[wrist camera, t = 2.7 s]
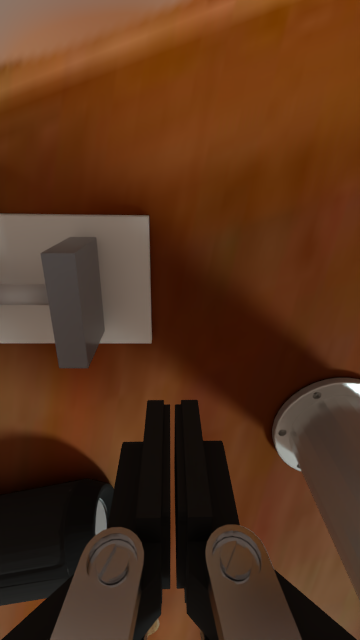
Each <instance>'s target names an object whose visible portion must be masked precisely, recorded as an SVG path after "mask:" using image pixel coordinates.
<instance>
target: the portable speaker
mask: <svg viewBox="0 0 360 640" xmlns="http://www.w3.org/2000/svg"><path fill="white" fill-rule="evenodd" d="M113 493H114V488H113V487H112V486H111V485H110V484H108V483H104V482H100V481H95V480H91V479H82V480H79V481H74V482H68V483H63V484H58V485H52V486H47V487H42V488H36V489H31V490H26V491H20V492H15V493H10V494H5V495H0V606H1V605H7V604H13V603H20V602H26V601H32V600H38V599H44V598H48V597H49V596H50V595H51V594H52V593H53V592H54V591H56V590H57V589H58V588H59V587H60V586H61V585H62V584H63V583H64V582H65V581H67V580H68V579H69V578H70V577H71V576H72V575H73V574H74V573H75V571H76V568H77V566H78V563H79V560H80V557H81V555H82V553H83V551H84V549H85V547H86V545H87V544H88V543H89V541H90V540H91V539H92V538H93V537H94V536H95V535H97V534H98V533H100V532H101V531H103V530H106V529H107V527H108V521H109V516H110V510H111V504H112V499H113Z"/></svg>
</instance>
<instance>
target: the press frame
mask: <svg viewBox="0 0 360 640" xmlns="http://www.w3.org/2000/svg"><path fill="white" fill-rule="evenodd" d="M69 237H96V239H97V250H98V261H99V272H100V283H101V294H102V305H103V316H104V327H105V332H104V334H103V336H102V338H101V341H100V343H152V312H151V270H150V229H149V215H76V214H0V284H45V278H44V272H43V266H42V260H41V254H40V253H42V252H43V251H45V250H47V249H49V248H51V247H53V246H54V245H56V244H58V243H60V242H62V241H63V240H65V239H67V238H69ZM0 343H55V339H54V333H53V327H52V321H51V315H50V309H49V305H0Z"/></svg>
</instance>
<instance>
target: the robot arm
mask: <svg viewBox="0 0 360 640" xmlns="http://www.w3.org/2000/svg"><path fill="white" fill-rule="evenodd" d="M272 438H273V442H274V445H275V448H276V450H277V452H278V455H279V456H280V457H281V458H282V460H283V461H284V462H285V463H287V464H288V465H289V466H290V467H292V468H294V469H296V470H298V471H302V473H303V476H304V478H305V480H306V482H307V485H308V487H309V489H310V491H311V493H312V496H313V498H314V500H315V502H316V505H317V507H318V509H319V511H320V514H321V516H322V518H323V520H324V522H325V525H326V527H327V529H328V531H329V534H330V536H331V538H332V540H333V543H334V545H335V547H336V549H337V551H338V554H339V556H340V558H341V560H342V563H343V565H344V567H345V569H346V571H347V574H348V576H349V578H350V580H351V583H352V585H353V587H354V589H355V592H356V594H357V596H358V598H359V600H360V379H354V378H332V379H326V380H322V381H319V382H316V383H313V384H311V385H309V386H307V387H305V388H303V389H301V390H300V391H298V392H297V393H295V394H294V395H292V396H291V397H290V398H289V399H288V400H287V401H286V402H285V403H284V404H283V406H282V407H281V409H280V410H279V411H278V413H277V415H276V417H275V419H274V423H273V427H272ZM175 524H176V578H177V589H180V588H184V590H185V603H186V604H187V614H188V615H189V617H190V618H191V619H192V620H193V621H194V622H195V624H196V625H197V626H198V627H199V628H200V635H201V640H356V639H355V638H354V637H353V636H352V635H351V634H349V633H348V632H347V631H346V630H345V629H344V628H342V627H341V626H340V625H339V624H338V623H337V622H335V621H334V620H333V619H332V618H331V617H330V616H328V615H327V614H326V613H325V612H324V611H322V610H321V609H320V608H319V607H318V606H317V605H315V604H314V603H313V602H312V601H311V600H310V599H308V598H307V597H306V596H305V595H304V594H303V593H301V592H300V591H299V590H298V589H297V588H296V587H294V586H293V585H292V584H291V583H290V582H289V581H287V580H286V579H285V578H284V577H283V576H281V575H280V574H279V573H278V572H277V571H276V570H274V568H273V566H272V563H271V561H270V558H269V556H268V553H267V551H266V549H265V547H264V545H263V543H262V542H261V540H260V539H259V538H258V537H257V536H256V535H255V534H254V533H253V532H252V531H250V530H249V529H247V528H245V527H242V526H240V524H239V519H238V515H237V510H236V505H235V500H234V495H233V490H232V485H231V480H230V475H229V470H228V465H227V461H226V456H225V451H224V446H223V443H222V441H203V438H202V430H201V423H200V415H199V407H198V401H197V400H181V405H175ZM162 589H170V405H164V400H148V401H147V410H146V421H145V431H144V441H143V442H123V444H122V448H121V454H120V459H119V465H118V470H117V476H116V482H115V487H114V493H113V499H112V504H111V510H110V516H109V521H108V527H107V529H106V530H103V531H101V532H100V533H98V534H97V535H95V536H94V537H93V538H92V539H91V540H90V541H89V543H88V544H87V545H86V547H85V549H84V551H83V553H82V555H81V557H80V560H79V563H78V566H77V568H76V571H75V573H74V574H73V575H72V576H71V577H70V578H69V579H68V580H67V581H65V582H64V583H63V584H62V585H61V586H60V587H59V588H58V589H57V590H56V591H54V592H53V593H52V594H51V595H50V596H49V597H48V598H47V599H46V600H45V601H43V602H42V603H41V604H40V605H39V606H38V607H37V608H36V609H35V610H34V611H32V612H31V613H30V614H29V615H28V616H27V617H26V618H25V619H24V620H23V621H21V622H20V623H19V624H18V625H17V626H16V627H15V628H14V629H13V630H12V631H11V632H9V633H8V634H7V635H6V636H5V637H4V638H3V639H2V640H147V634H148V630H149V629H150V628H151V627H152V625H153V624H154V623H155V621H156V620H157V619H158V618H159V616H160V615H161V603H162Z"/></svg>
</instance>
